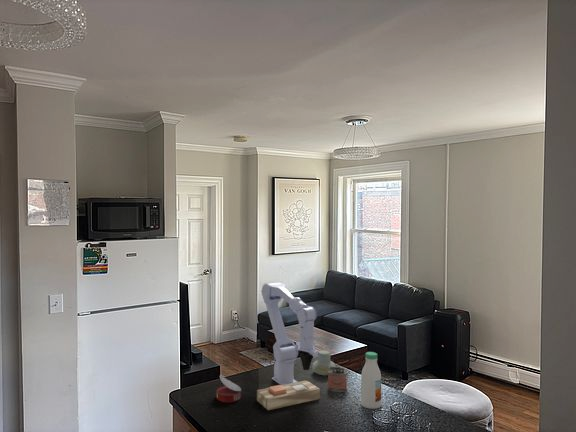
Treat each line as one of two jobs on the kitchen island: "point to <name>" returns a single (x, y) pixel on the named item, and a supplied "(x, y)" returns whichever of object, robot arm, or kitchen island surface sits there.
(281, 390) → the terracotta button
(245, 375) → the kitchen island surface
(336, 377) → the lighter
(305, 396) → the button panel
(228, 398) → the canned food
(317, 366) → the pale green jug
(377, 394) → the milk bottle
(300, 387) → the grey button
